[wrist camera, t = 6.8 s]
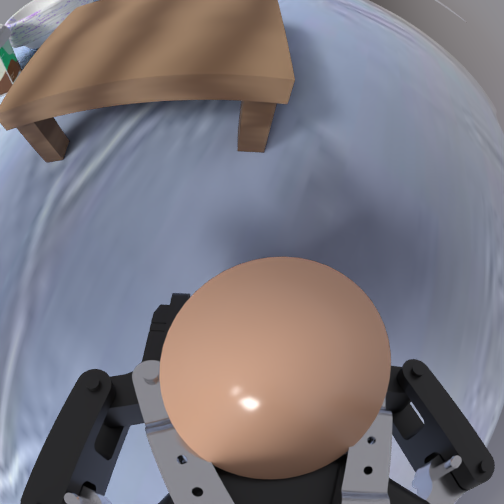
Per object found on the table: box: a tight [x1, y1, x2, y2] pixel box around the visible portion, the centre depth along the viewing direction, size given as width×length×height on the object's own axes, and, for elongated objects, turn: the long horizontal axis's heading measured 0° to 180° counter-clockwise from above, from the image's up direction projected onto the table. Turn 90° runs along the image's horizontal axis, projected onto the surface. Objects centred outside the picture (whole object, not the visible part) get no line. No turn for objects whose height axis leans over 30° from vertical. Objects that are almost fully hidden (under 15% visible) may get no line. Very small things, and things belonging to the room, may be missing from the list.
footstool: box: [0, 0, 295, 163], centre depth 17 cm, size 20×16×8 cm
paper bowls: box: [4, 0, 94, 49], centre depth 20 cm, size 15×15×8 cm
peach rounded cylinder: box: [159, 257, 391, 479], centre depth 11 cm, size 5×5×11 cm
